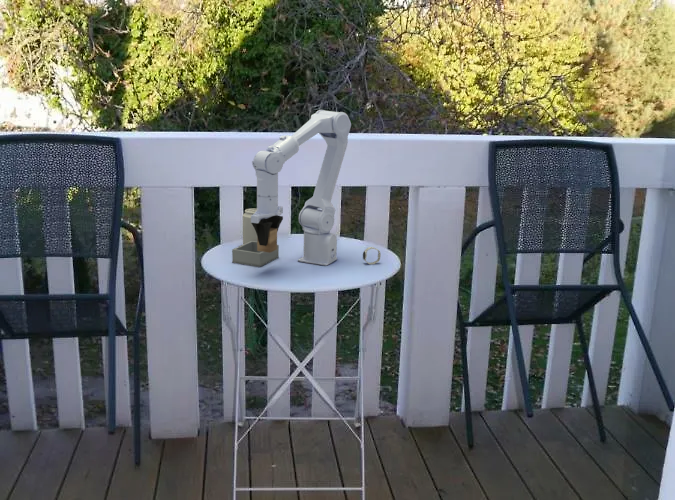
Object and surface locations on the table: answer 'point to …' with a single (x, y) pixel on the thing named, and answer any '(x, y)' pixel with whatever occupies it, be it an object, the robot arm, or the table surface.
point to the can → (248, 226)
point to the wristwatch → (366, 255)
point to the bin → (253, 255)
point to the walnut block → (269, 242)
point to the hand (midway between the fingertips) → (267, 243)
